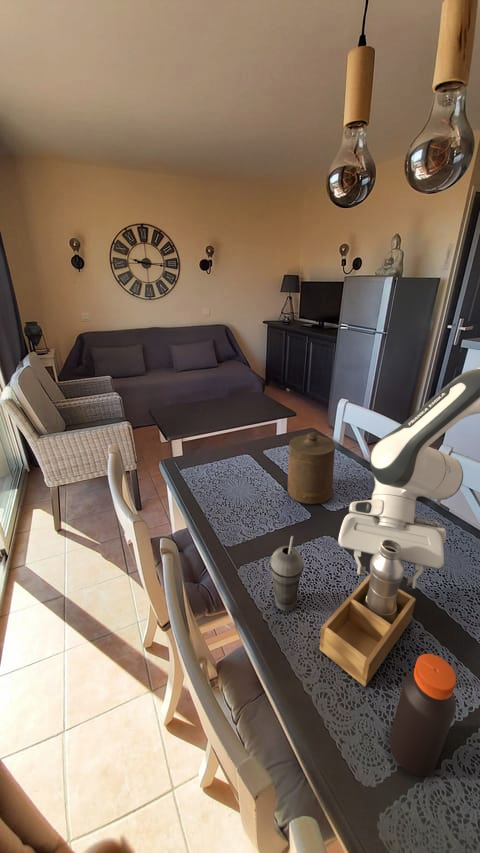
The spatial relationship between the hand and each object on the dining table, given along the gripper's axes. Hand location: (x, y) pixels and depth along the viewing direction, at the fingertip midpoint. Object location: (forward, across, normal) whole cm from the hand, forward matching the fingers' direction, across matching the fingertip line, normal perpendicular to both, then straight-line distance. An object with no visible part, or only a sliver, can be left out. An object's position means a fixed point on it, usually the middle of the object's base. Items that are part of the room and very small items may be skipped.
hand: (385, 581), depth 73 cm
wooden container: (-23, +24, -40) cm, 52 cm away
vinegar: (+24, -6, +7) cm, 26 cm away
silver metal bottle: (+8, 0, -9) cm, 12 cm away
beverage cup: (+10, +20, -8) cm, 24 cm away
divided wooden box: (+11, +2, -6) cm, 13 cm away
